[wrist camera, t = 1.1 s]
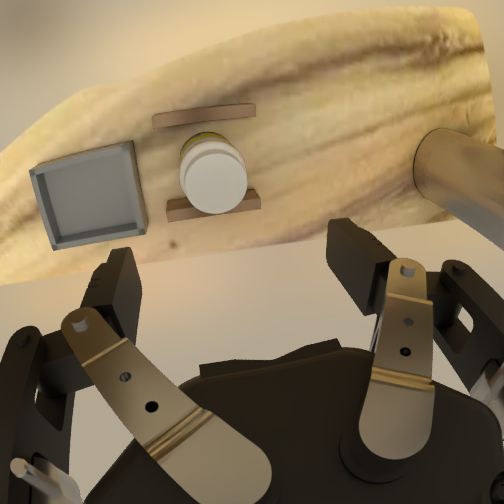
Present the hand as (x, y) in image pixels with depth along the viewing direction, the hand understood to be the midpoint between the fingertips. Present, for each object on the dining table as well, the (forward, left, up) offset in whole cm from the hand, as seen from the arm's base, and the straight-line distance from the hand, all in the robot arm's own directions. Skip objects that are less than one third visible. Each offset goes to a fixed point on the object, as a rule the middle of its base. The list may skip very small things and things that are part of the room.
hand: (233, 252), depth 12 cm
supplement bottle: (0, 0, -16) cm, 16 cm away
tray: (+11, +1, -16) cm, 19 cm away
